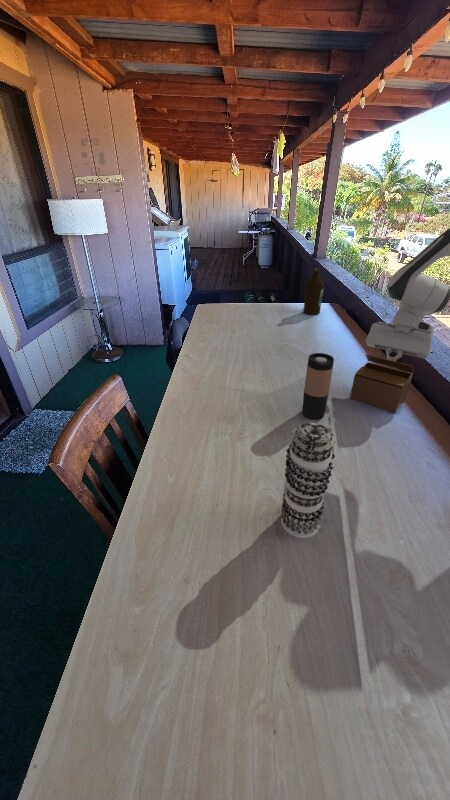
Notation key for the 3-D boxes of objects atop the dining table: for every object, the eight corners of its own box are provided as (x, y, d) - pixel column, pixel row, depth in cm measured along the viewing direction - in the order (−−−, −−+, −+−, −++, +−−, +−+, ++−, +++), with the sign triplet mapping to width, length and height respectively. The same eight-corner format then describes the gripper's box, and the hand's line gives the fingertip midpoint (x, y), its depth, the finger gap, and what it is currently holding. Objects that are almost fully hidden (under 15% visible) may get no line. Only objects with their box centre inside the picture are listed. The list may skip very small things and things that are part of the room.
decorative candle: (284, 501, 83) (294, 412, 70) (324, 512, 80) (342, 422, 67) (274, 531, 75) (283, 438, 62) (317, 545, 72) (336, 450, 59)
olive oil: (301, 314, 205) (306, 270, 193) (303, 309, 214) (307, 266, 201) (320, 316, 203) (326, 271, 190) (320, 310, 212) (326, 267, 199)
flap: (365, 355, 118) (365, 354, 118) (368, 360, 124) (368, 360, 124) (412, 366, 110) (413, 365, 110) (413, 372, 116) (413, 371, 116)
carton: (348, 402, 121) (354, 373, 115) (361, 387, 130) (368, 360, 124) (394, 416, 113) (403, 386, 107) (404, 400, 122) (413, 371, 116)
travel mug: (311, 405, 119) (318, 350, 109) (329, 414, 114) (339, 358, 104) (296, 413, 115) (302, 357, 105) (315, 423, 110) (324, 365, 100)
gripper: (373, 316, 122) (358, 351, 120) (438, 327, 111) (422, 366, 109) (374, 325, 127) (360, 358, 125) (437, 337, 116) (422, 374, 114)
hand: (389, 362), depth 117 cm, fingers closed
